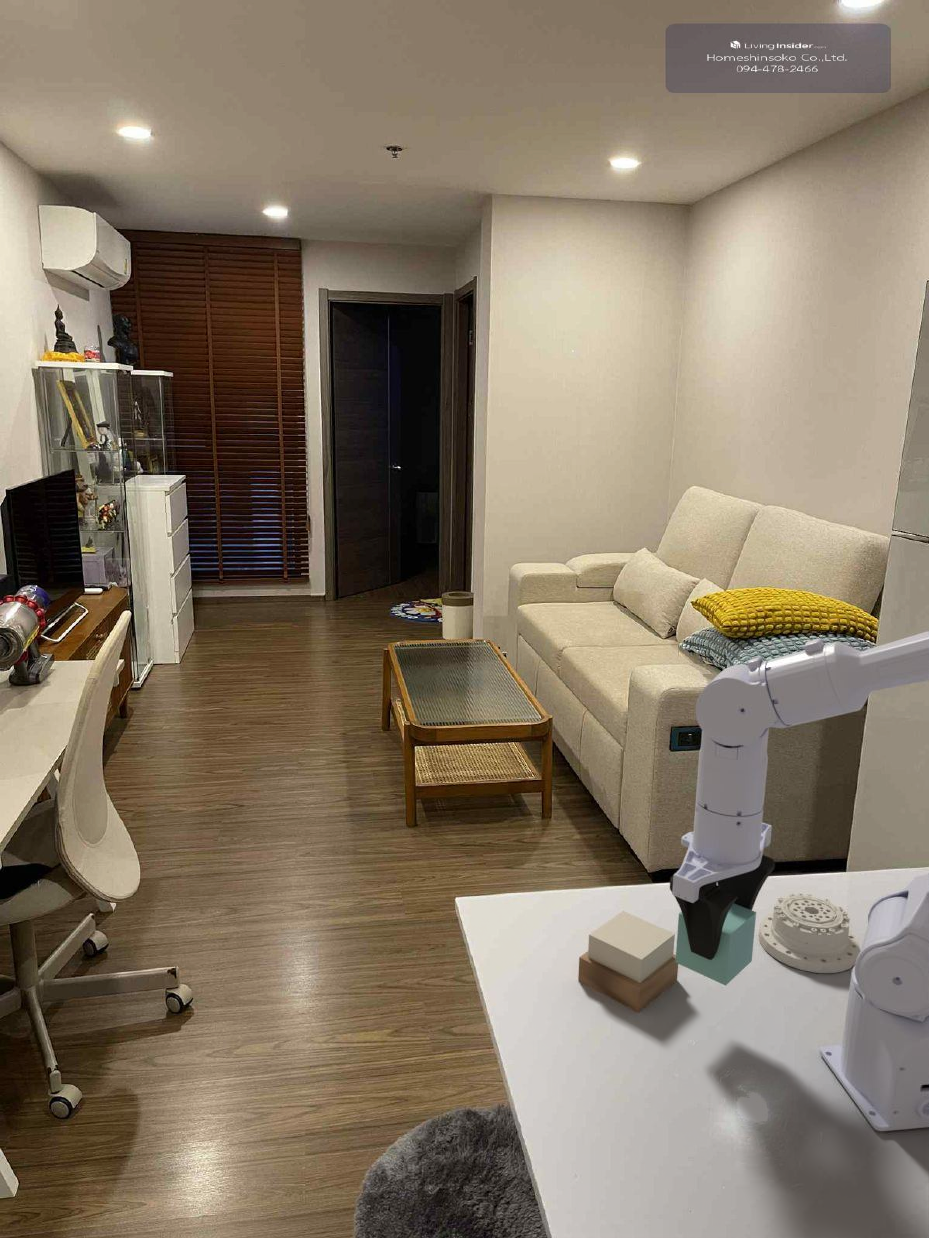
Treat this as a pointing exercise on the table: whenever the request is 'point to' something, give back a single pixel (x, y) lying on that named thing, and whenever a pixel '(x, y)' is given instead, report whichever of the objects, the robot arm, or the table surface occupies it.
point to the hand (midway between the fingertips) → (717, 941)
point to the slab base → (627, 982)
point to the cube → (721, 947)
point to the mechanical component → (809, 935)
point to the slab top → (631, 946)
